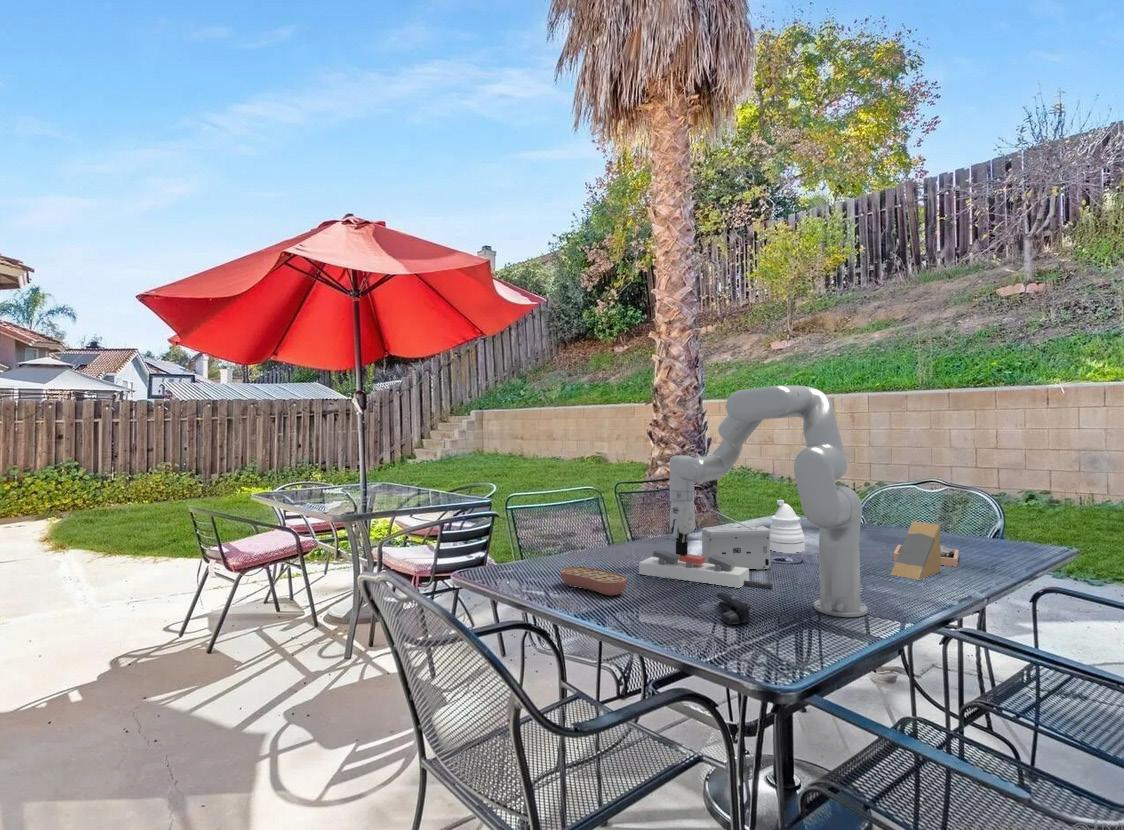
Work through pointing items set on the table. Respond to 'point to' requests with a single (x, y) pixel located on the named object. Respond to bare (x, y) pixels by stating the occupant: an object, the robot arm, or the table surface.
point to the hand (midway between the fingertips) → (681, 554)
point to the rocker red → (692, 559)
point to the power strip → (698, 572)
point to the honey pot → (786, 530)
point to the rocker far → (665, 556)
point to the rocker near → (721, 562)
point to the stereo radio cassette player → (738, 545)
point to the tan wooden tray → (944, 560)
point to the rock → (946, 552)
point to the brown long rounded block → (594, 579)
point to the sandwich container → (919, 552)
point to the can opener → (733, 609)
